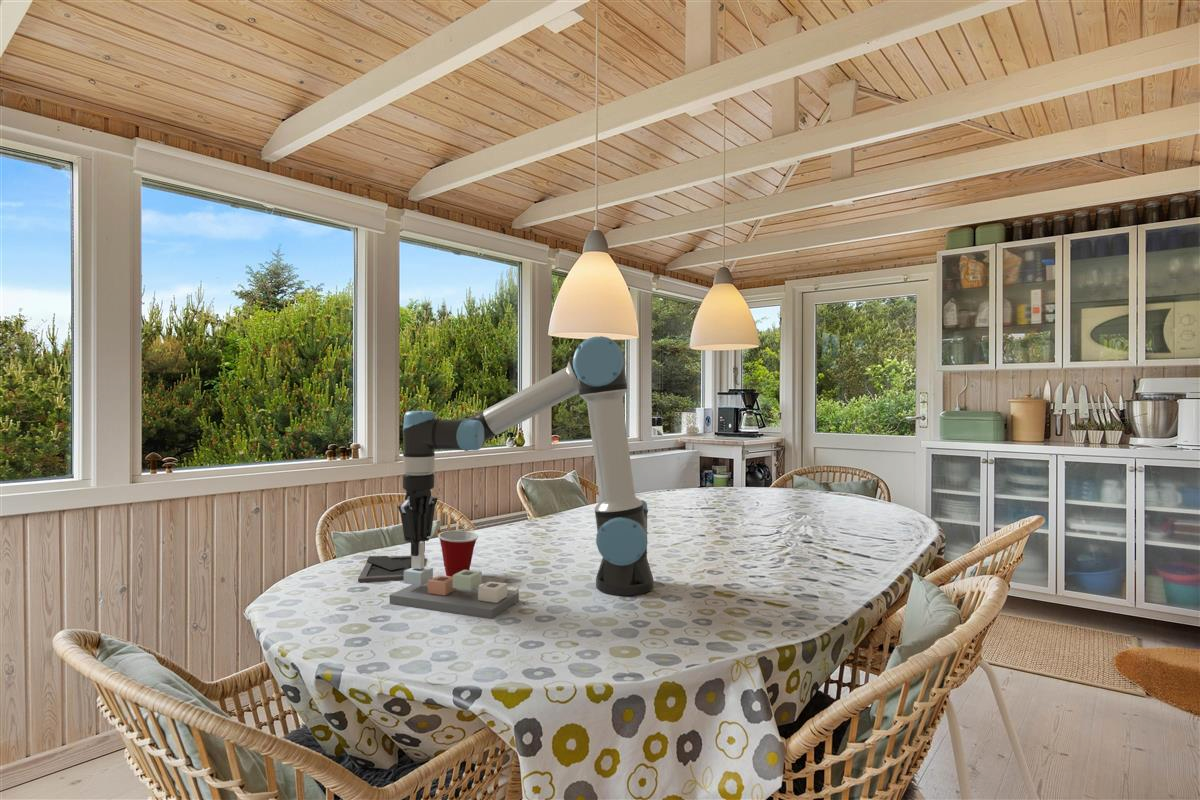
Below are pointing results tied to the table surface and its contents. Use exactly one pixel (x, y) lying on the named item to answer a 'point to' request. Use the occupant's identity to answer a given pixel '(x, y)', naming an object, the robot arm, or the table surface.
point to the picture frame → (385, 568)
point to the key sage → (467, 579)
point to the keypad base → (454, 601)
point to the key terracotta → (441, 585)
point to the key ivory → (492, 592)
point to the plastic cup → (457, 550)
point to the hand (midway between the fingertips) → (417, 567)
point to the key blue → (418, 575)
